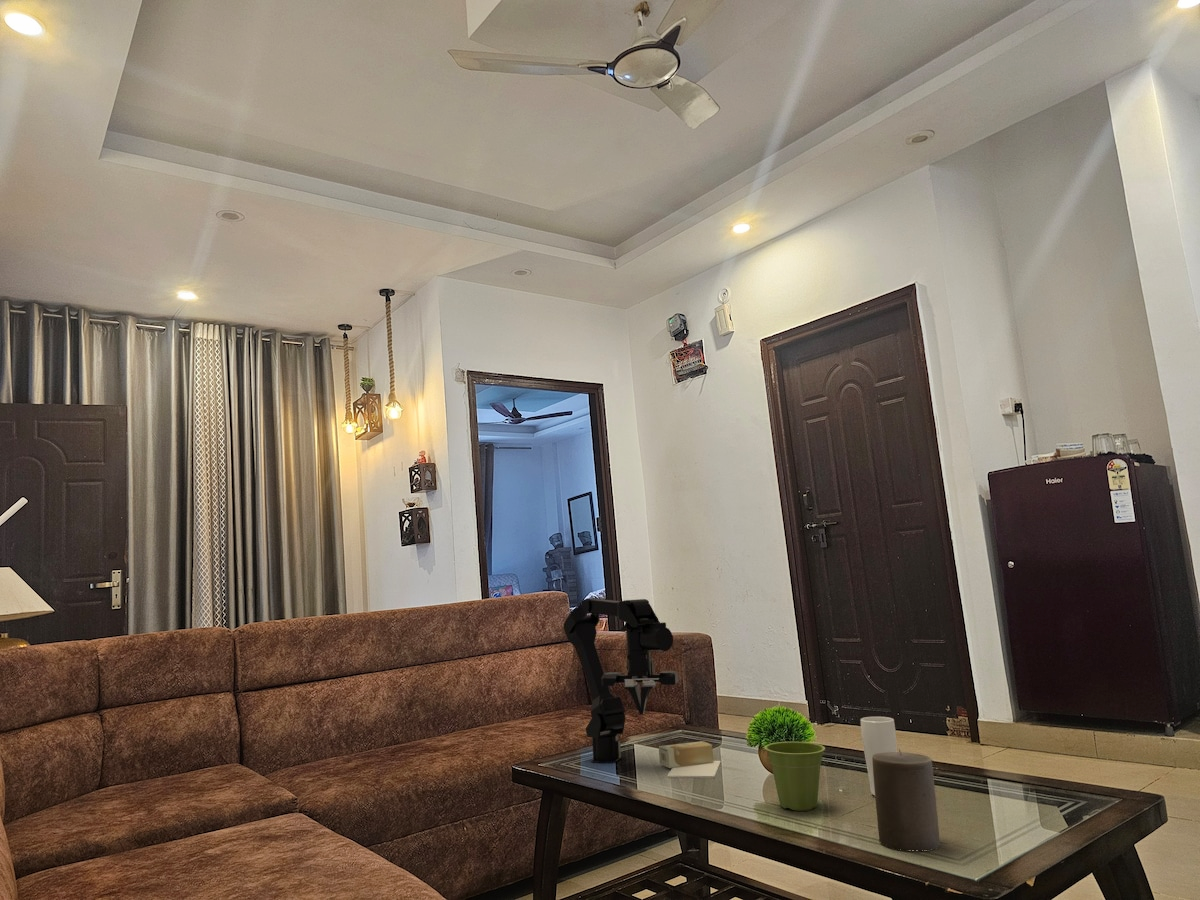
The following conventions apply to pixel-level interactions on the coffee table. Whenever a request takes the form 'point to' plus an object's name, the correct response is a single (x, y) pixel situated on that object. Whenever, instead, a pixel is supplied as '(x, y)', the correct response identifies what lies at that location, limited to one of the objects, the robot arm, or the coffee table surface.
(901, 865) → the coffee table surface
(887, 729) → the drinking glass
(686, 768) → the mat
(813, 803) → the plant pot
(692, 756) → the skincare box
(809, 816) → the coffee table surface
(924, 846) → the pillar candle
